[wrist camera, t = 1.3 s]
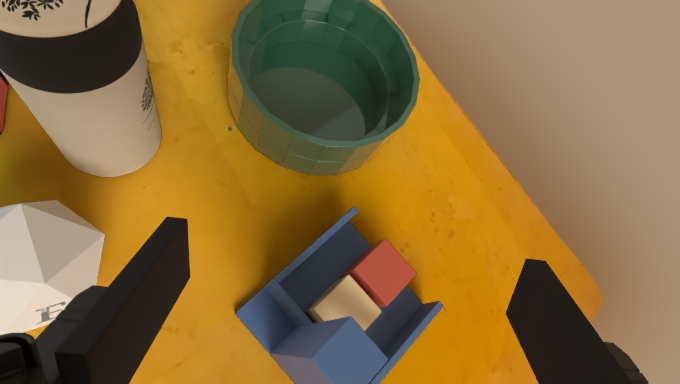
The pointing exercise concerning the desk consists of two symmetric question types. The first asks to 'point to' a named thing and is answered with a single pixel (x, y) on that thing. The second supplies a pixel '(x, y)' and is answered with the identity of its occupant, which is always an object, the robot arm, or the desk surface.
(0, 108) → the puzzle cube
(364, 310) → the maple block
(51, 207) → the die
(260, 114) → the green pet bowl
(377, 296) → the brick block
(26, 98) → the travel mug
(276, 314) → the scoop
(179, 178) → the desk surface
